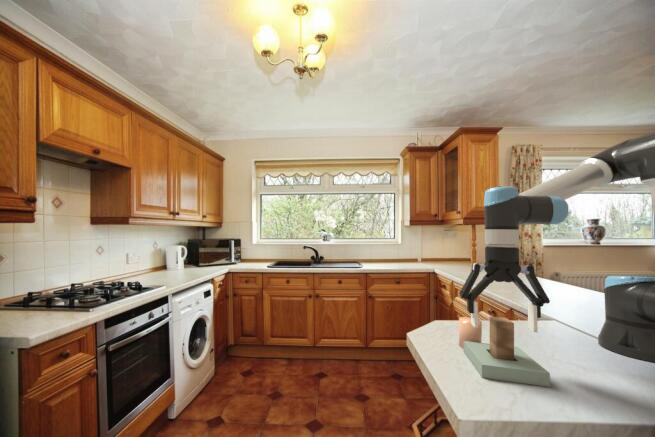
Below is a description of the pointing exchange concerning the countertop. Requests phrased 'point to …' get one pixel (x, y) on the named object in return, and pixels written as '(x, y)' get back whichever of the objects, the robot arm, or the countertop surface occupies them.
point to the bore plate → (506, 365)
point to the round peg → (469, 331)
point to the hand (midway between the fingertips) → (503, 328)
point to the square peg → (501, 338)
